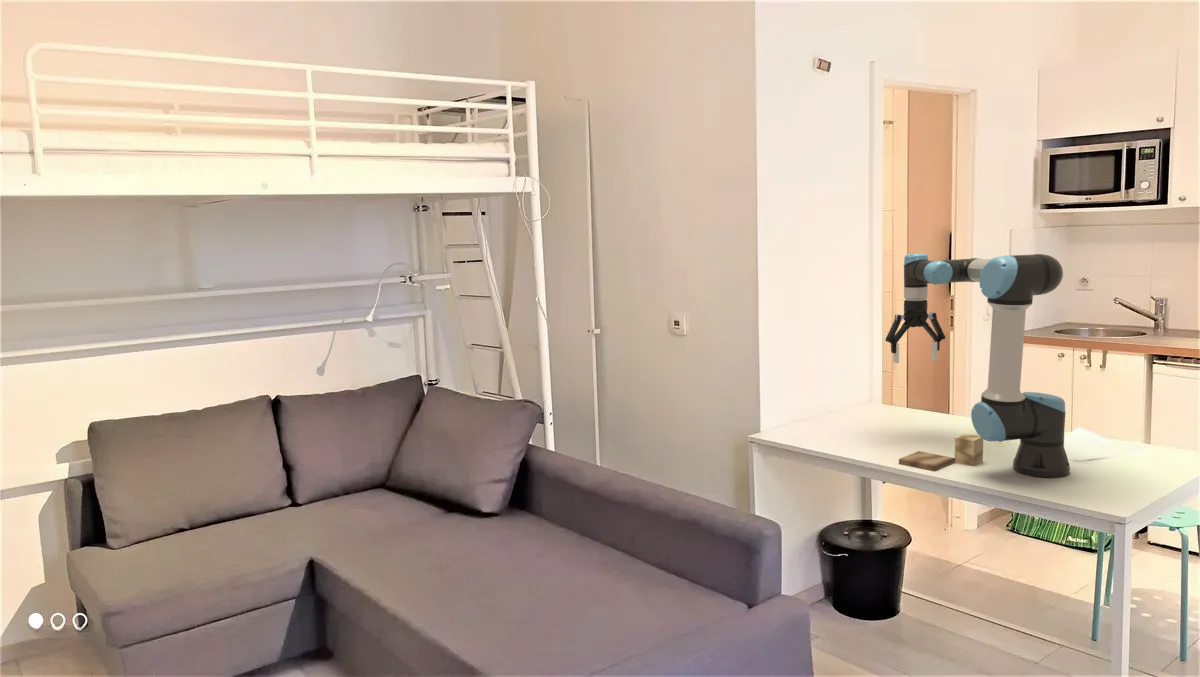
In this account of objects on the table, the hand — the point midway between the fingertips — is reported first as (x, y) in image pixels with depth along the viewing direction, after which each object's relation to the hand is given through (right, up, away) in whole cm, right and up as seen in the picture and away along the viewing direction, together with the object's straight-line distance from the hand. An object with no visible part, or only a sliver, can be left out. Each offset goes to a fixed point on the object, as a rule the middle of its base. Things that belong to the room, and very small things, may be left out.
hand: (915, 361), depth 301 cm
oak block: (+7, -31, -28) cm, 42 cm away
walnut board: (-6, -31, -27) cm, 42 cm away
